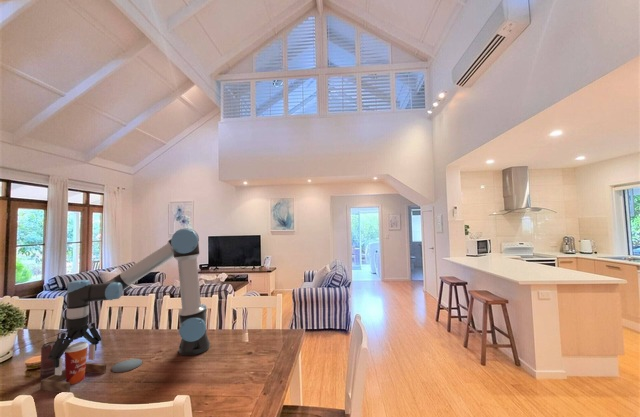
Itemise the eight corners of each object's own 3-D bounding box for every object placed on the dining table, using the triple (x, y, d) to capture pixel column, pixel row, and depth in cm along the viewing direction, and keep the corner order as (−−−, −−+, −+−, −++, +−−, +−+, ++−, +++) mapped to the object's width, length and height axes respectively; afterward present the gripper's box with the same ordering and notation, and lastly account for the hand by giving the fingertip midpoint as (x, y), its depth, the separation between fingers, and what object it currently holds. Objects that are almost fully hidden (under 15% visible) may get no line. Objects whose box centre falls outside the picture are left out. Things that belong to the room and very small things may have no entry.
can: (42, 380, 123) (44, 347, 123) (38, 376, 126) (39, 344, 127) (61, 374, 128) (62, 342, 129) (56, 370, 131) (57, 339, 132)
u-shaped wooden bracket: (106, 372, 129) (106, 364, 129) (66, 393, 113) (66, 384, 113) (82, 369, 132) (82, 361, 132) (40, 389, 116) (40, 380, 116)
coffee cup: (72, 386, 117) (74, 349, 118) (57, 384, 119) (58, 348, 120) (92, 376, 126) (93, 341, 127) (77, 374, 127) (79, 340, 128)
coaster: (148, 361, 139) (148, 359, 139) (126, 373, 127) (126, 372, 127) (127, 359, 142) (127, 357, 142) (104, 371, 130) (104, 369, 130)
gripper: (98, 308, 137) (97, 353, 136) (37, 325, 113) (34, 381, 111) (111, 308, 135) (110, 354, 134) (51, 326, 111) (49, 383, 110)
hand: (75, 366), depth 123 cm, fingers open, 13 cm apart
